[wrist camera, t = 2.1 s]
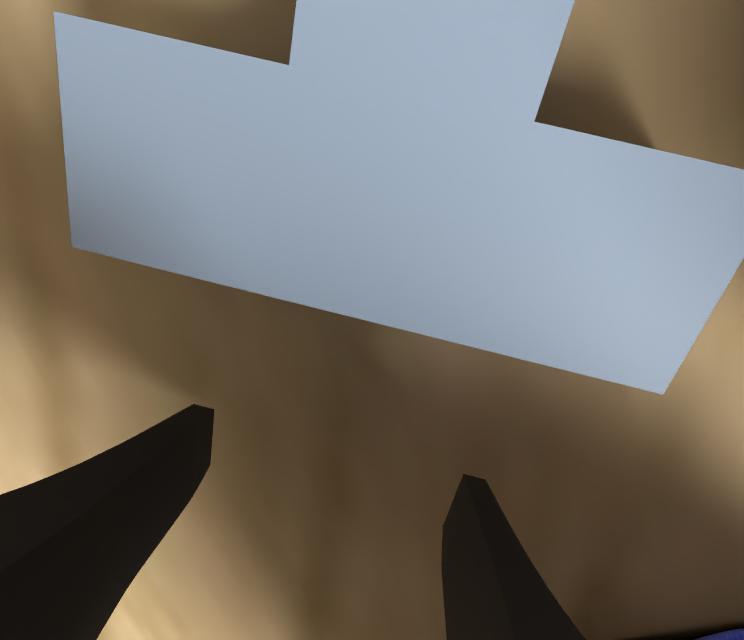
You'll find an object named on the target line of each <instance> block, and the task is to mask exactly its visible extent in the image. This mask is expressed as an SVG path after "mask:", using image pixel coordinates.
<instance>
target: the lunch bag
mask: <svg viewBox="0 0 744 640" xmlns="http://www.w3.org/2000/svg"><path fill="white" fill-rule="evenodd" d="M695 640H744V628H741V629H735V630H729V631H724V632H720V633H716V634H712V635H708V636H705V637H701V638H698V639H695Z"/></svg>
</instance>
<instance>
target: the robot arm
mask: <svg viewBox="0 0 744 640" xmlns="http://www.w3.org/2000/svg"><path fill="white" fill-rule="evenodd" d="M213 420H214V409H211V408H207V407H203V406H199V405H195V404H193V405H191V406H189V407H187V408H185V409H184V410H182V411H180V412H178V413H176V414H175V415H173V416H171V417H169V418H167V419H166V420H164V421H162V422H160V423H158V424H157V425H155V426H153V427H151V428H149V429H147V430H146V431H144V432H142V433H140V434H138V435H136V436H134V437H132V438H131V439H129V440H127V441H125V442H123V443H121V444H119V445H117V446H115V447H113V448H111V449H109V450H107V451H105V452H103V453H101V454H99V455H96V456H94V457H92V458H90V459H88V460H86V461H84V462H82V463H80V464H78V465H75V466H73V467H71V468H68V469H66V470H64V471H61V472H59V473H57V474H54V475H52V476H49V477H47V478H44V479H42V480H39V481H37V482H34V483H32V484H29V485H27V486H24V487H21V488H18V489H16V490H13V491H10V492H7V493H4V494H1V495H0V640H96V639H97V638H98V636H99V634H100V633H101V631H102V629H103V628H104V626H105V624H106V623H107V621H108V619H109V618H110V616H111V614H112V613H113V611H114V609H115V608H116V606H117V604H118V603H119V601H120V599H121V598H122V596H123V594H124V593H125V591H126V590H127V588H128V587H129V585H130V584H131V582H132V581H133V579H134V578H135V576H136V575H137V573H138V572H139V570H140V569H141V568H142V566H143V565H144V564H145V562H146V561H147V559H148V558H149V557H150V555H151V554H152V553H153V551H154V550H155V548H156V547H157V546H158V544H159V543H160V541H161V540H162V539H163V537H164V536H165V535H166V533H167V532H168V530H169V529H170V528H171V526H172V525H173V524H174V522H175V521H176V519H177V518H178V517H179V515H180V514H181V512H182V511H183V510H184V508H185V507H186V505H187V504H188V503H189V501H190V500H191V498H192V497H193V495H194V493H195V491H196V490H197V488H198V486H199V484H200V483H201V481H202V479H203V477H204V475H205V473H206V472H207V470H208V468H209V466H210V461H211V447H212V433H213ZM441 565H442V580H443V594H444V608H445V621H446V635H447V640H585V639H584V637H583V636H582V635H581V633H580V632H579V631H578V629H577V628H576V626H575V625H574V624H573V622H572V621H571V620H570V618H569V617H568V616H567V614H566V613H565V612H564V610H563V609H562V608H561V606H560V605H559V603H558V602H557V600H556V599H555V598H554V596H553V595H552V593H551V592H550V590H549V589H548V587H547V586H546V584H545V583H544V581H543V579H542V578H541V576H540V575H539V573H538V572H537V570H536V569H535V567H534V565H533V564H532V562H531V561H530V559H529V557H528V556H527V554H526V552H525V550H524V549H523V547H522V545H521V544H520V542H519V540H518V538H517V537H516V535H515V533H514V532H513V530H512V528H511V526H510V524H509V523H508V521H507V519H506V517H505V515H504V513H503V512H502V510H501V508H500V506H499V504H498V502H497V500H496V498H495V497H494V495H493V493H492V491H491V489H490V487H489V485H488V484H487V482H486V480H485V479H481V478H477V477H473V476H469V475H466V474H463V477H462V479H461V482H460V484H459V487H458V489H457V492H456V494H455V497H454V499H453V502H452V505H451V507H450V510H449V512H448V515H447V517H446V520H445V522H444V525H443V537H442V564H441Z"/></svg>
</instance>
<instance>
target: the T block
mask: <svg viewBox="0 0 744 640" xmlns="http://www.w3.org/2000/svg"><path fill="white" fill-rule="evenodd" d="M574 2H575V0H296V9H295V18H294V26H293V35H292V44H291V52H290V61H289V65H286V64H282V63H277V62H273V61H269V60H264V59H260V58H256V57H251V56H247V55H243V54H238V53H234V52H230V51H225V50H221V49H217V48H212V47H208V46H203V45H199V44H195V43H190V42H186V41H182V40H177V39H173V38H169V37H164V36H160V35H156V34H151V33H147V32H143V31H138V30H134V29H129V28H125V27H121V26H116V25H112V24H108V23H103V22H99V21H95V20H90V19H86V18H82V17H77V16H73V15H69V14H64V13H60V12H56V11H53V13H54V26H55V39H56V52H57V65H58V77H59V90H60V103H61V116H62V129H63V142H64V155H65V168H66V181H67V194H68V206H69V219H70V232H71V245H72V247H73V248H77V249H81V250H85V251H89V252H93V253H97V254H101V255H105V256H109V257H113V258H117V259H121V260H125V261H129V262H133V263H137V264H141V265H145V266H149V267H153V268H157V269H161V270H165V271H169V272H173V273H177V274H181V275H185V276H189V277H193V278H197V279H201V280H205V281H209V282H213V283H217V284H221V285H225V286H229V287H233V288H237V289H241V290H245V291H249V292H253V293H257V294H261V295H265V296H269V297H273V298H277V299H281V300H285V301H289V302H293V303H297V304H301V305H305V306H309V307H313V308H317V309H321V310H325V311H329V312H333V313H337V314H341V315H346V316H350V317H354V318H358V319H362V320H366V321H370V322H374V323H378V324H382V325H386V326H390V327H394V328H398V329H402V330H406V331H410V332H414V333H418V334H422V335H426V336H430V337H434V338H438V339H442V340H446V341H450V342H454V343H458V344H462V345H466V346H470V347H474V348H478V349H482V350H486V351H490V352H494V353H498V354H502V355H506V356H510V357H514V358H518V359H522V360H526V361H530V362H534V363H538V364H542V365H546V366H550V367H554V368H558V369H562V370H566V371H570V372H574V373H578V374H582V375H586V376H590V377H594V378H598V379H602V380H606V381H610V382H614V383H618V384H622V385H626V386H630V387H634V388H638V389H642V390H646V391H650V392H654V393H658V394H662V395H663V394H664V393H665V391H666V389H667V388H668V386H669V384H670V382H671V381H672V379H673V377H674V376H675V374H676V372H677V371H678V369H679V367H680V365H681V364H682V362H683V360H684V359H685V357H686V355H687V354H688V352H689V350H690V348H691V347H692V345H693V343H694V342H695V340H696V338H697V337H698V335H699V333H700V332H701V330H702V328H703V326H704V325H705V323H706V321H707V320H708V318H709V316H710V315H711V313H712V311H713V309H714V308H715V306H716V304H717V303H718V301H719V299H720V298H721V296H722V294H723V292H724V291H725V289H726V287H727V286H728V284H729V282H730V281H731V279H732V277H733V276H734V274H735V272H736V270H737V269H738V267H739V265H740V264H741V262H742V260H743V259H744V170H743V169H739V168H735V167H730V166H726V165H721V164H717V163H713V162H708V161H704V160H700V159H695V158H691V157H687V156H682V155H678V154H674V153H669V152H665V151H661V150H656V149H652V148H647V147H643V146H639V145H634V144H630V143H626V142H621V141H617V140H613V139H608V138H604V137H600V136H595V135H591V134H587V133H582V132H578V131H573V130H569V129H565V128H560V127H556V126H552V125H547V124H543V123H539V122H534V121H535V118H536V115H537V112H538V109H539V106H540V103H541V100H542V97H543V94H544V91H545V88H546V85H547V82H548V79H549V76H550V73H551V70H552V67H553V64H554V61H555V58H556V55H557V52H558V49H559V46H560V43H561V40H562V37H563V34H564V31H565V28H566V25H567V23H568V20H569V17H570V14H571V11H572V8H573V5H574Z"/></svg>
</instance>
